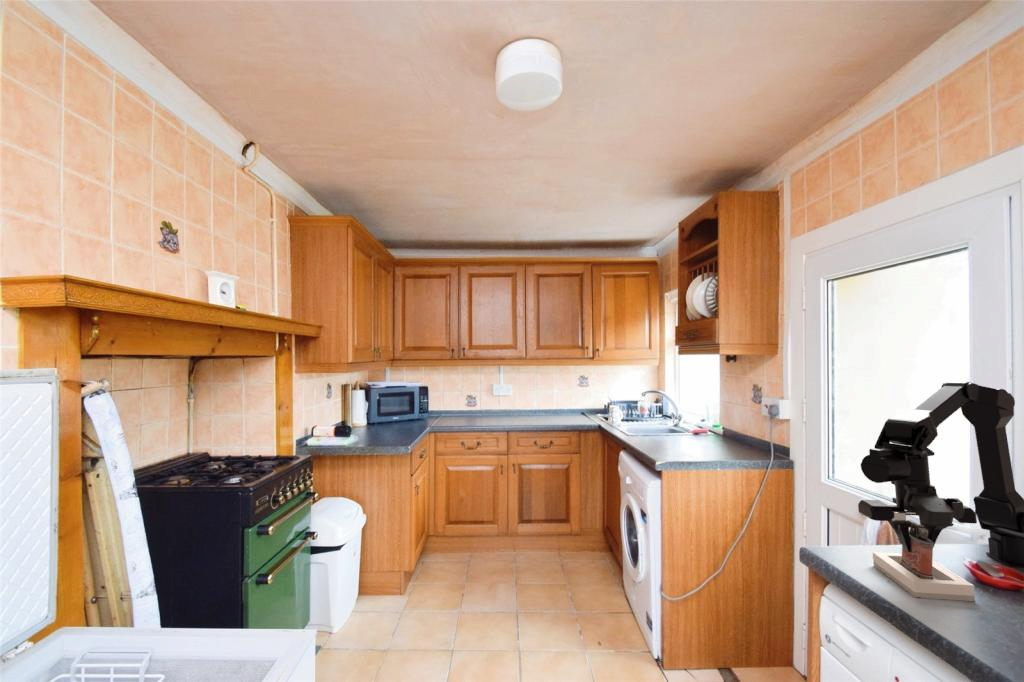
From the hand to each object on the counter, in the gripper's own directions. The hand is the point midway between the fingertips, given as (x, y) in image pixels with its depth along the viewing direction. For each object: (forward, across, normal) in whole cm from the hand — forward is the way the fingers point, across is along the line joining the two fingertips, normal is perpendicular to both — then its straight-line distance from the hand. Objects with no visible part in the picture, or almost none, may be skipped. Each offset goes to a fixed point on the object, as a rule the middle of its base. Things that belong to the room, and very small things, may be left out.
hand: (918, 551), depth 94 cm
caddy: (+6, 0, 0) cm, 6 cm away
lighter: (+4, -1, 0) cm, 4 cm away
